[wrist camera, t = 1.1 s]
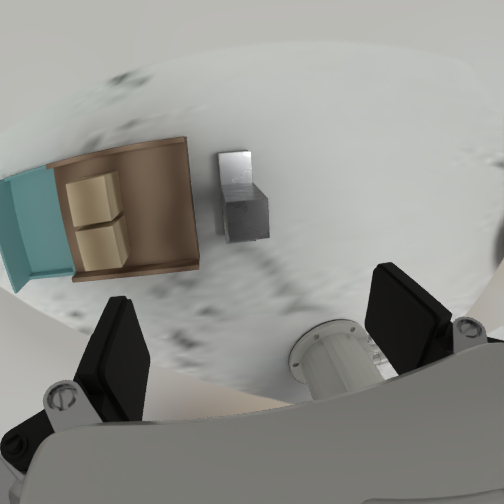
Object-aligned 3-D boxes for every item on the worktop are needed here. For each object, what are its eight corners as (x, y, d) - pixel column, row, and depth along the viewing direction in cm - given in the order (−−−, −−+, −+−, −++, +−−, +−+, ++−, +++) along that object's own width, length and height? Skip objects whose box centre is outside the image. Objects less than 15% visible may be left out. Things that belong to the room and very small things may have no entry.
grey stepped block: (247, 150, 28) (265, 156, 19) (252, 232, 32) (270, 273, 23) (217, 152, 28) (222, 159, 19) (224, 235, 32) (232, 278, 22)
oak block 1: (117, 170, 25) (104, 175, 22) (123, 209, 27) (111, 220, 23) (82, 177, 25) (65, 184, 21) (89, 214, 26) (74, 226, 23)
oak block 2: (124, 214, 27) (112, 226, 23) (131, 250, 29) (122, 267, 25) (90, 219, 26) (75, 232, 23) (98, 254, 28) (85, 271, 24)
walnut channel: (186, 136, 27) (183, 136, 24) (199, 255, 32) (199, 269, 29) (60, 160, 25) (45, 164, 22) (83, 268, 30) (72, 282, 27)
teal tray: (58, 161, 25) (36, 167, 21) (81, 269, 30) (65, 289, 26) (8, 177, 24) (-15, 185, 20) (32, 274, 29) (14, 293, 25)
